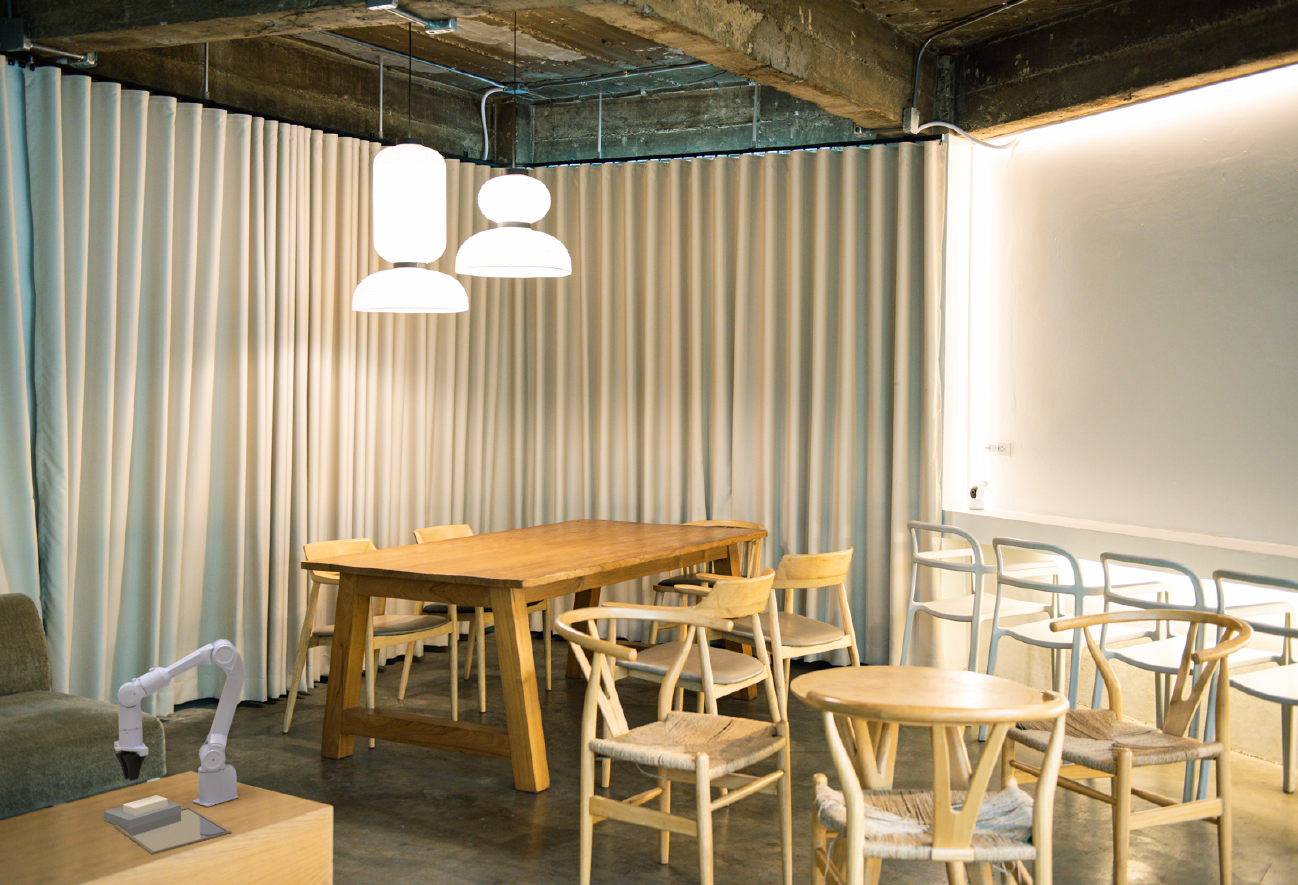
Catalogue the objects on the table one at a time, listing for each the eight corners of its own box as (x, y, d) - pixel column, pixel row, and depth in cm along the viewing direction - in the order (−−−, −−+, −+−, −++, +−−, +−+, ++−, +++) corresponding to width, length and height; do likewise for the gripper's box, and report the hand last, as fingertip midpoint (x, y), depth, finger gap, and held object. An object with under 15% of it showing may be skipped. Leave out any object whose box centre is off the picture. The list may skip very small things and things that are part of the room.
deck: (155, 805, 291) (155, 796, 291) (181, 814, 284) (180, 804, 284) (104, 820, 280) (104, 811, 280) (129, 829, 272) (128, 820, 272)
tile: (156, 802, 286) (156, 795, 286) (167, 806, 283) (167, 798, 283) (123, 811, 279) (122, 804, 279) (134, 816, 276) (134, 808, 276)
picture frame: (114, 829, 275) (152, 856, 254) (114, 825, 275) (152, 852, 254) (189, 810, 288) (231, 835, 268) (189, 806, 288) (231, 831, 268)
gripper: (102, 727, 287) (103, 778, 286) (129, 735, 278) (130, 787, 278) (128, 722, 292) (129, 771, 292) (155, 729, 284) (156, 780, 283)
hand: (131, 778), depth 285 cm, fingers closed
